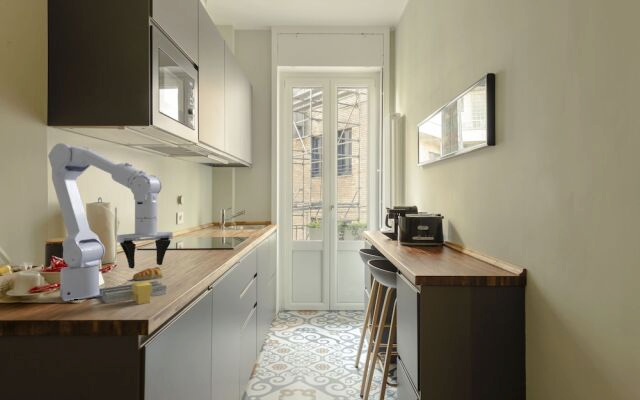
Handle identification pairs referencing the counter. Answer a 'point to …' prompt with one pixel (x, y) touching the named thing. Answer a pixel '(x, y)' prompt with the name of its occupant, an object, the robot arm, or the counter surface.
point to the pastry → (148, 274)
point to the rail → (127, 292)
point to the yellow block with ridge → (142, 291)
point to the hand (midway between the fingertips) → (145, 266)
